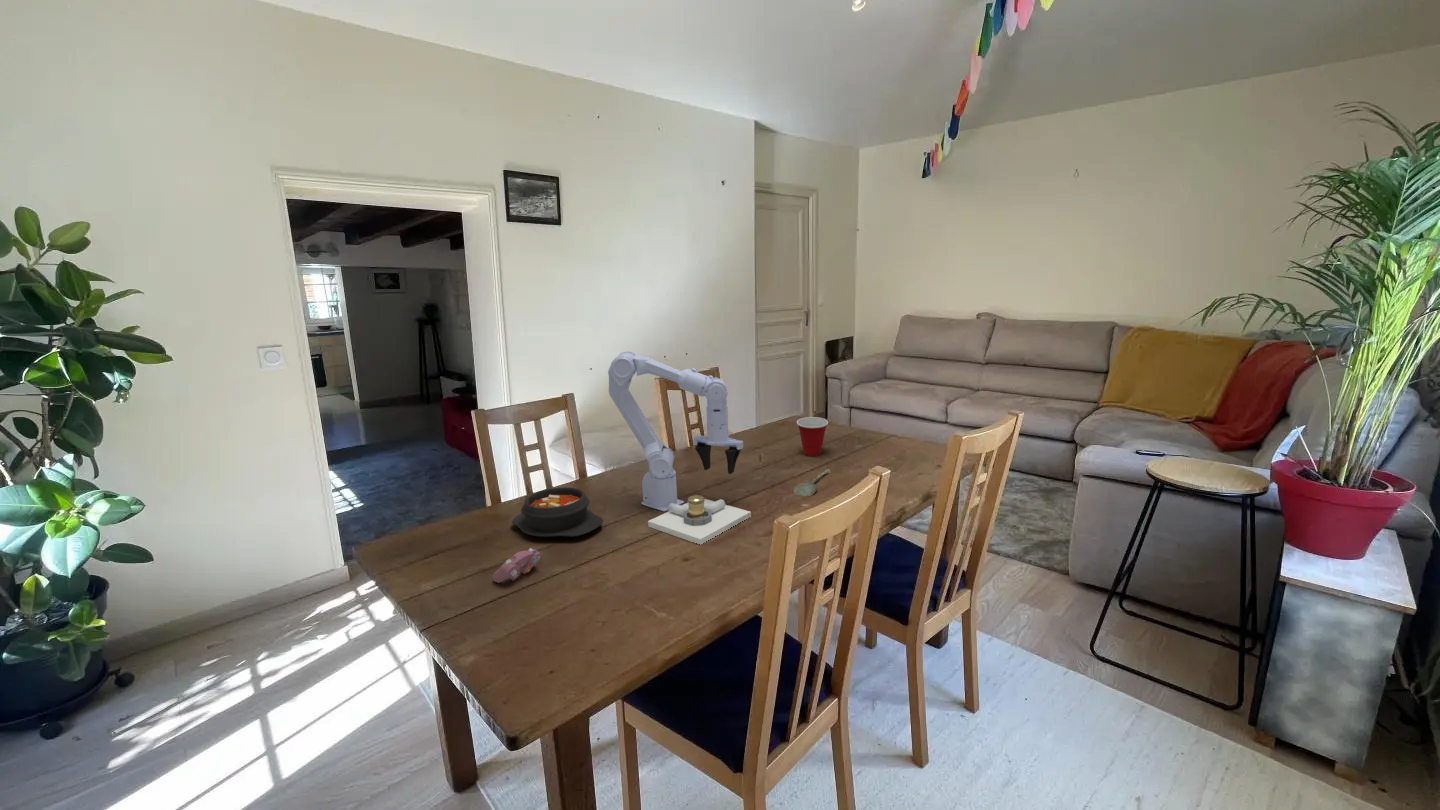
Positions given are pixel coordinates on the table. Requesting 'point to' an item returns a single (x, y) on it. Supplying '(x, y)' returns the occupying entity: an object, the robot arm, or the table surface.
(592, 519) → the casserole
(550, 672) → the table surface
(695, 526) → the shaft base
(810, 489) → the soupspoon
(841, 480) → the table surface
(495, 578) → the video game controller
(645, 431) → the robot arm
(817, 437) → the plastic cup
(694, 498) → the salt shaker
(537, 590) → the table surface
